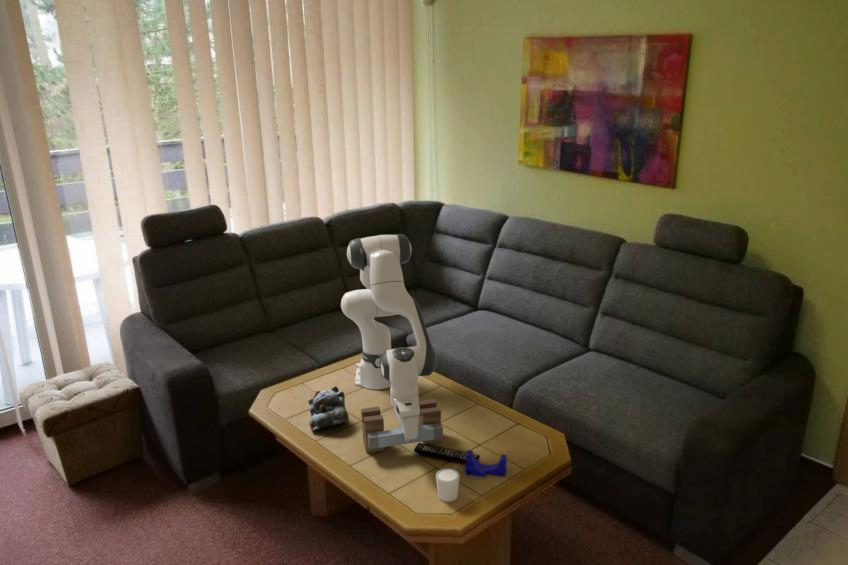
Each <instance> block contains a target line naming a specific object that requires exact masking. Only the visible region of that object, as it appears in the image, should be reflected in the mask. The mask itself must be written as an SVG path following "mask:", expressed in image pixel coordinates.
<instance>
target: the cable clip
mask: <svg viewBox="0 0 848 565" xmlns="http://www.w3.org/2000/svg"><path fill="white" fill-rule="evenodd" d="M465 458H466V459H465V468H464V470H465V471H464V474H465V475H466V476H473V477H474V476H475V477H481V478H485V477H486V475H489V476H496V477H503V478H506V474H507V469H508V468H507V463H508V462H507V460H508V456H507V454H504V453H503V454H502V453H501V456H500V459H499V461H498V462H496V463H494V464H484V463H481V462H480V461H479V460H477V458H476V457H475V455H474V450H470V449H468V450H467V452H466V455H465Z"/></svg>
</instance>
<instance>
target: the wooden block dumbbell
mask: <svg viewBox="0 0 848 565" xmlns="http://www.w3.org/2000/svg"><path fill="white" fill-rule="evenodd" d="M419 406H420V415H418V418H419V425H418V426H421V425H428V424H435V423H441V422H442V410H441V408H440V406H437V401H436V399H434V398H433V399H424V400H419ZM360 414H361V415H360V416H361V425H362V426H361V427H362V429H361V430H362V442H363V446H364V449H365V453H366V454H367V453H375V452H381V451H385V450H386V449H385V448H386V447H381V448H374V449H369V445H368V433H372V432H379V431H385V427H384V426H385V423H384V422H385V420H384V415H383V414H381V408H380V406H372V407H364V408H361V409H360ZM441 424H442V423H441ZM421 442H423V443H430V444H436V443H441V442H442V440H441V439H435V440H428V441H421ZM423 443H422V444H423Z"/></svg>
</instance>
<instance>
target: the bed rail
mask: <svg viewBox="0 0 848 565" xmlns="http://www.w3.org/2000/svg"><path fill="white" fill-rule="evenodd" d="M435 439H444V429H443V425H442V423H435V424H428V425H421V426H418V436H417V438H416V439H412V440H410V441H408V442H405V440H404V433H403V431H402V428H401V427H400V428H394V429H387V430H384V431H379V432H372V433H368V445H369V449H374V448H381V447H384V448H386V447H393V446H394V447H395V446H399V445H409V444H414V443H415V444H416V443H420V442H422V441H428V440H435Z"/></svg>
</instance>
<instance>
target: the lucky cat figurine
mask: <svg viewBox="0 0 848 565" xmlns="http://www.w3.org/2000/svg"><path fill="white" fill-rule="evenodd" d="M345 399H346V396H345V392H344V391H342V390H341V391H340V390H339V388H338V387H337V386H333V387H332V388H330V389H325V390H322V391H320V390H317V391H316V392H315V394H314V395H313V396H312V397H310V398H309V399H308V400H307V401H308V404H309V406H308V408H309V413H310V416H311V418H310V419H309V422H308V423H309V424H308V425H309V428H311V431H313V432H314V431H317V430H320V429H323V428H328V427H332V426H335V425H338V424H342V423H346V422H350V419H349V413H348V412H347V409H346V401H345Z"/></svg>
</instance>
